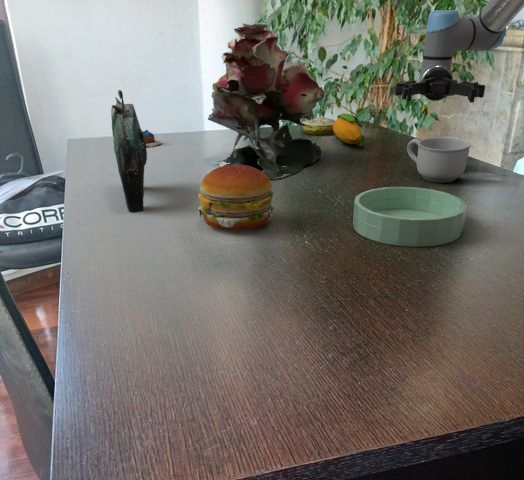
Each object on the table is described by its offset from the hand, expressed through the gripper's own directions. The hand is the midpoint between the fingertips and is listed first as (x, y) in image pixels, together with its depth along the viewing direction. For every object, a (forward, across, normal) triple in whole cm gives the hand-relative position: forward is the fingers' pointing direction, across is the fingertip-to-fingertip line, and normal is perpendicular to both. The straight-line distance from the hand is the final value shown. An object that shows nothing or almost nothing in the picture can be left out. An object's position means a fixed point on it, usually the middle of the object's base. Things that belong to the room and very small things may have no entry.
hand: (441, 95), depth 127 cm
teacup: (+10, 0, -16) cm, 19 cm away
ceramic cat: (+35, +60, -16) cm, 71 cm away
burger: (+47, +36, -16) cm, 61 cm away
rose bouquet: (+2, +41, -16) cm, 44 cm away
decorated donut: (-37, +31, -16) cm, 51 cm away
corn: (-22, +21, -16) cm, 34 cm away
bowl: (+44, +6, -15) cm, 47 cm away
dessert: (-13, +77, -16) cm, 80 cm away
